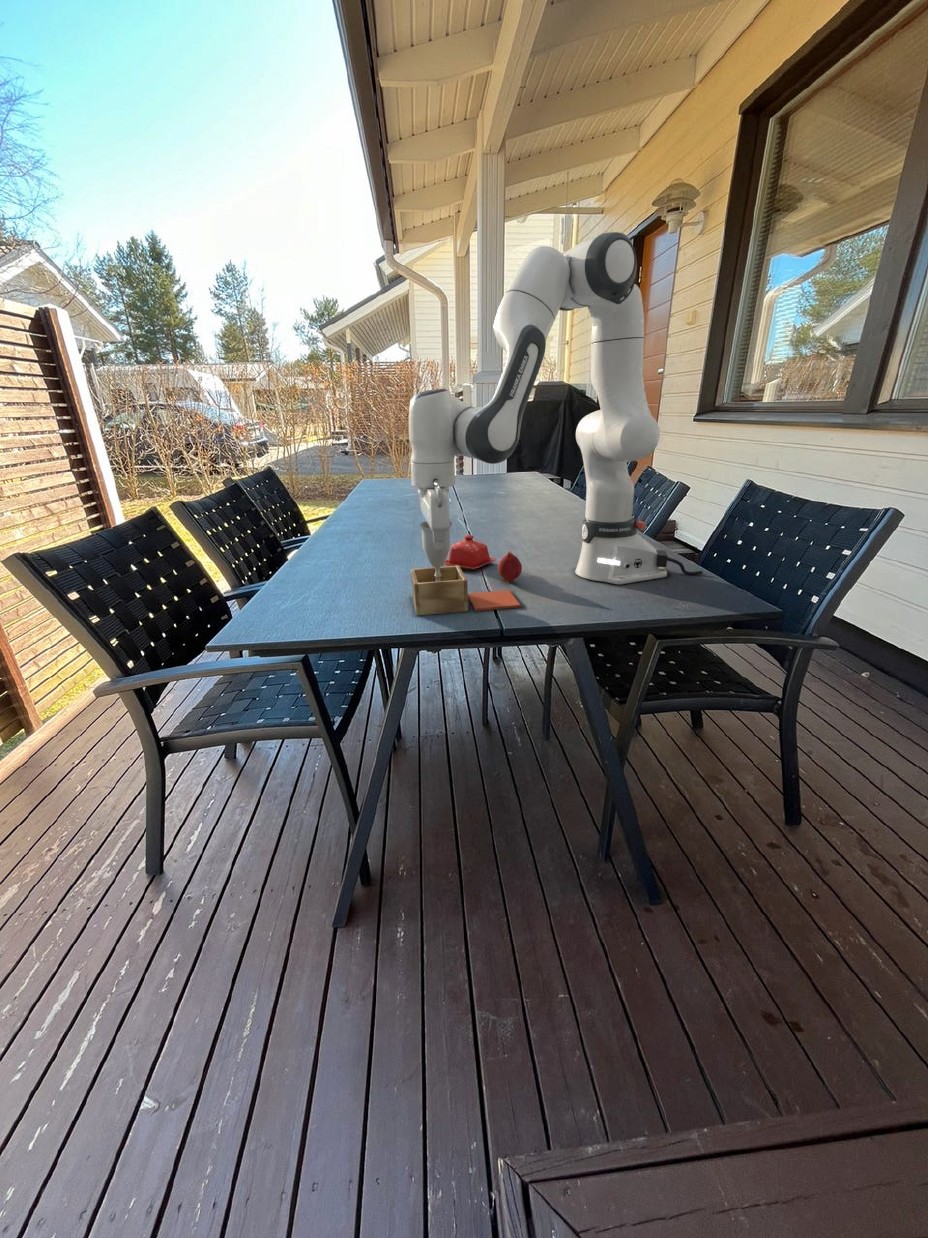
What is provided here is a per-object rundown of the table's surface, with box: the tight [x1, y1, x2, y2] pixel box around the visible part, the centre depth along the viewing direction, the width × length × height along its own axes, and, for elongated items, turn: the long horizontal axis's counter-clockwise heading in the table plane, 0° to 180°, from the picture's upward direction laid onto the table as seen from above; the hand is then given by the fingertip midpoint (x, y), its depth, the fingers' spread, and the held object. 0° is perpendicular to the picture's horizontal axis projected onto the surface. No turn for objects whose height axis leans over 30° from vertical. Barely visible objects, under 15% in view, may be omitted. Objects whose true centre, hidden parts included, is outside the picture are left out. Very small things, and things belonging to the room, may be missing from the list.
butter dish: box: [444, 534, 497, 571], centre depth 142 cm, size 12×12×8 cm
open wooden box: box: [410, 565, 469, 616], centre depth 115 cm, size 11×11×7 cm
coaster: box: [468, 589, 521, 612], centre depth 117 cm, size 10×10×1 cm
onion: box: [497, 550, 523, 584], centre depth 128 cm, size 6×6×8 cm
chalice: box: [419, 521, 452, 581], centre depth 113 cm, size 7×7×18 cm
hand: (435, 543), depth 111 cm, fingers open, 8 cm apart
